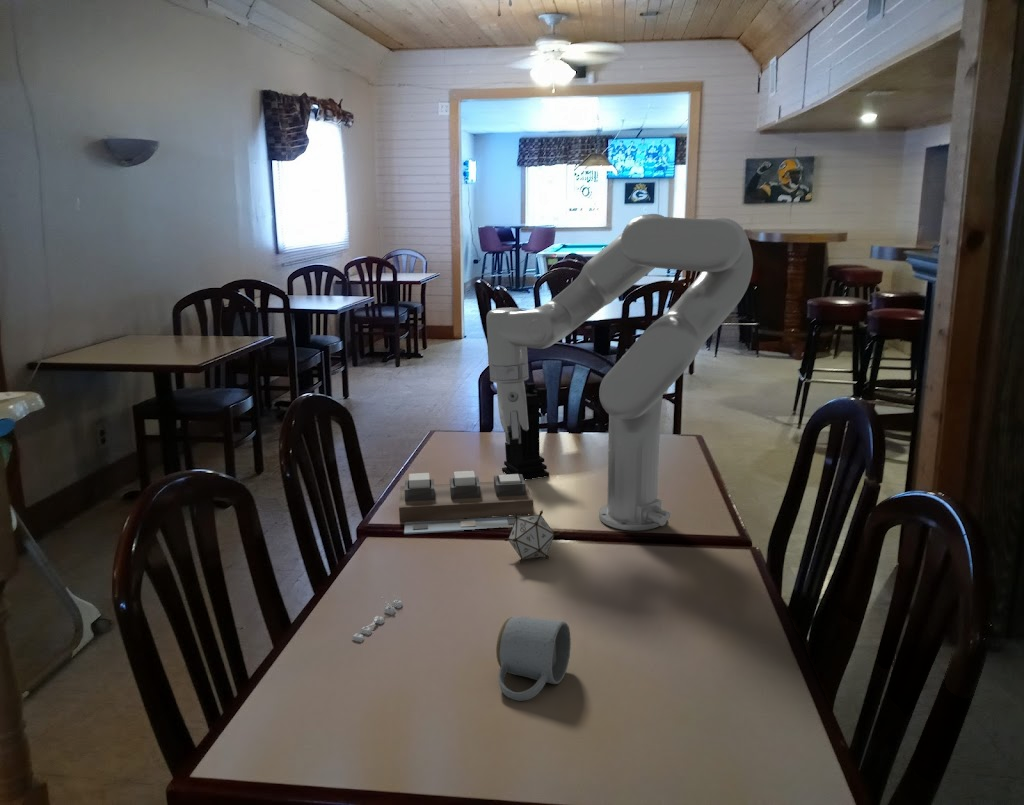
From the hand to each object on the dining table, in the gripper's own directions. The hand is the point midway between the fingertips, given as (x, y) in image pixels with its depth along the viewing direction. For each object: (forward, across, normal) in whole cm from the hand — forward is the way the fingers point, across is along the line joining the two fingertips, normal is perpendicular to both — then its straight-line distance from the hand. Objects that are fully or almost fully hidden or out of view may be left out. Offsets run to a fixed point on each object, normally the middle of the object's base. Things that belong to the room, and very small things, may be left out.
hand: (514, 461), depth 160 cm
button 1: (+4, +1, +19) cm, 20 cm away
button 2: (+6, +1, +1) cm, 6 cm away
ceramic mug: (+11, -61, +5) cm, 62 cm away
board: (+9, -2, +10) cm, 14 cm away
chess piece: (+9, +20, -4) cm, 22 cm away
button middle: (+4, +1, +10) cm, 11 cm away
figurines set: (+10, -43, +26) cm, 51 cm away
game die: (+10, -25, 0) cm, 27 cm away
